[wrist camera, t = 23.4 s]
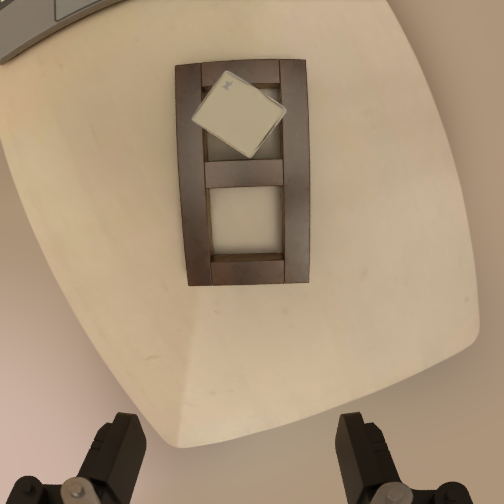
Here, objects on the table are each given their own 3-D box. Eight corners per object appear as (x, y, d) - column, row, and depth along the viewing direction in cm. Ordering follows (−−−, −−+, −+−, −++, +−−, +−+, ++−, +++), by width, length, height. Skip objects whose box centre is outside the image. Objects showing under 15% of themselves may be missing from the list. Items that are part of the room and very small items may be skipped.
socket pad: (302, 65, 28) (305, 59, 26) (305, 273, 35) (309, 282, 33) (180, 71, 29) (174, 65, 26) (192, 277, 35) (188, 286, 33)
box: (208, 128, 30) (185, 117, 20) (233, 94, 29) (223, 65, 19) (251, 158, 31) (250, 160, 21) (277, 123, 30) (289, 108, 20)
